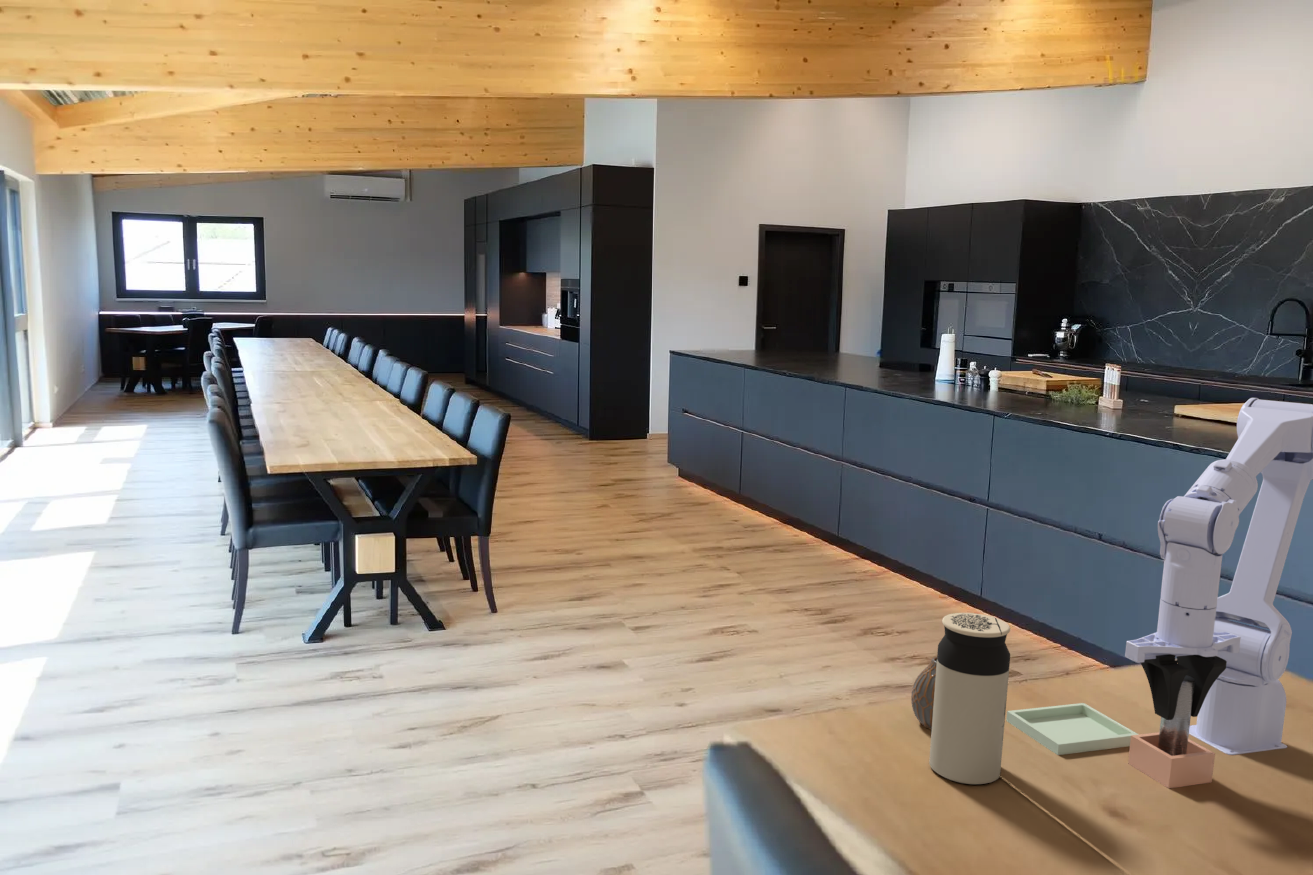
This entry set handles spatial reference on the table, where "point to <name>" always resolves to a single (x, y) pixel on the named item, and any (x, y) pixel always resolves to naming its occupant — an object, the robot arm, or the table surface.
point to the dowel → (1178, 722)
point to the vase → (924, 694)
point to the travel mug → (970, 699)
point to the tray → (1071, 728)
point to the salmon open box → (1171, 762)
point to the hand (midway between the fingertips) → (1175, 714)
